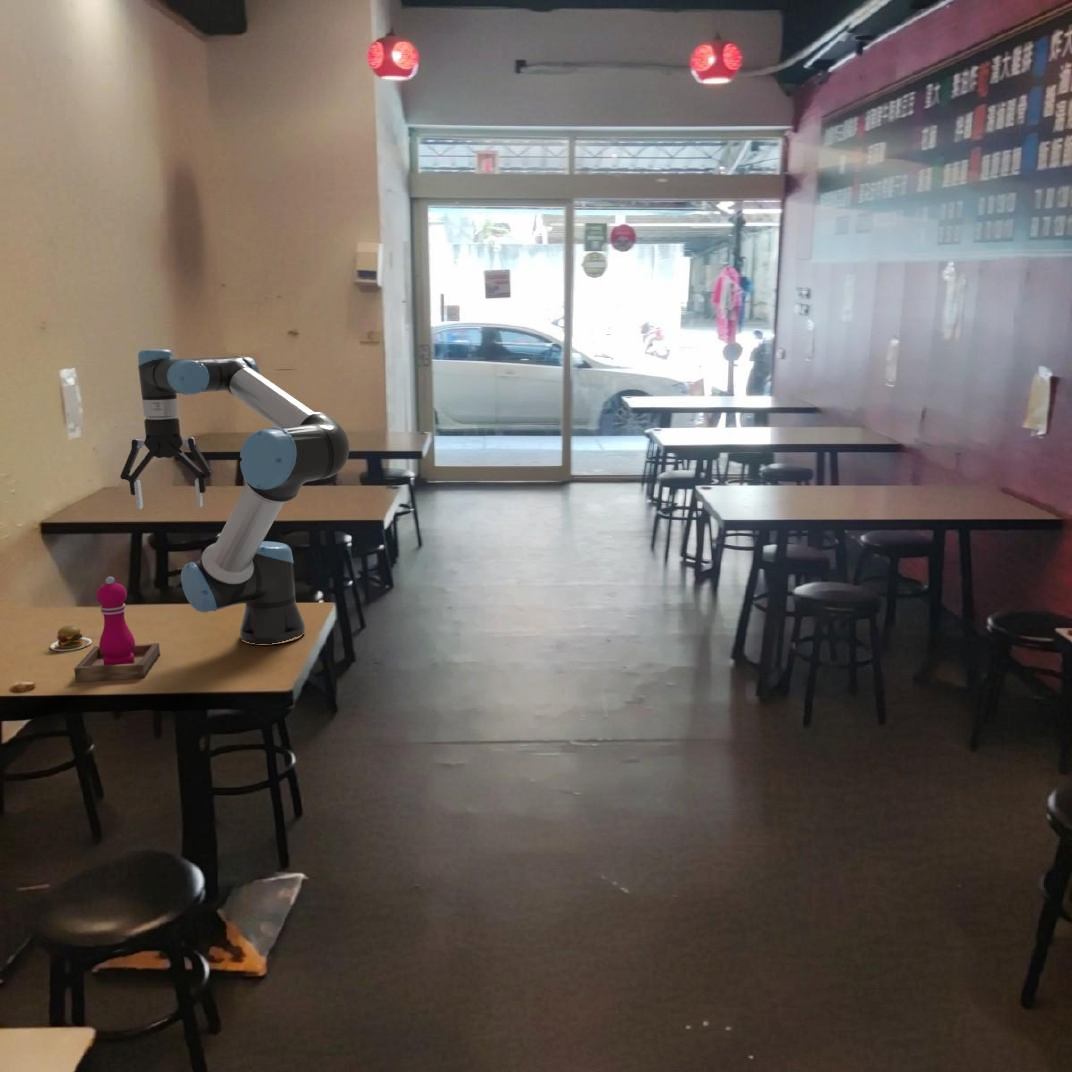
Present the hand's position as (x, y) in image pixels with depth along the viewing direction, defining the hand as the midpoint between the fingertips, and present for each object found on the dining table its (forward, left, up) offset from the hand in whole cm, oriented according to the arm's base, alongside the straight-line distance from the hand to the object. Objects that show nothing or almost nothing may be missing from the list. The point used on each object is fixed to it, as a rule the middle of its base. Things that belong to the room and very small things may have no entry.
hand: (170, 507), depth 225 cm
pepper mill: (+9, +21, -31) cm, 38 cm away
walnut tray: (+9, +21, -32) cm, 39 cm away
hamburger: (+25, +3, -33) cm, 41 cm away
